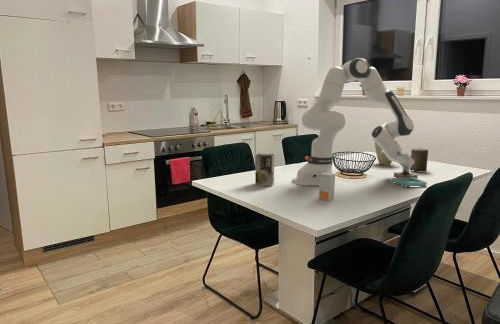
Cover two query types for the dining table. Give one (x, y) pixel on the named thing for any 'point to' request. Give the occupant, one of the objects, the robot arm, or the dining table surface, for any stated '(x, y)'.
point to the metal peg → (405, 170)
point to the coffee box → (264, 169)
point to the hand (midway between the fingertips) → (407, 167)
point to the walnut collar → (399, 175)
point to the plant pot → (382, 156)
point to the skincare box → (326, 186)
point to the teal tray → (409, 181)
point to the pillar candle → (419, 159)
